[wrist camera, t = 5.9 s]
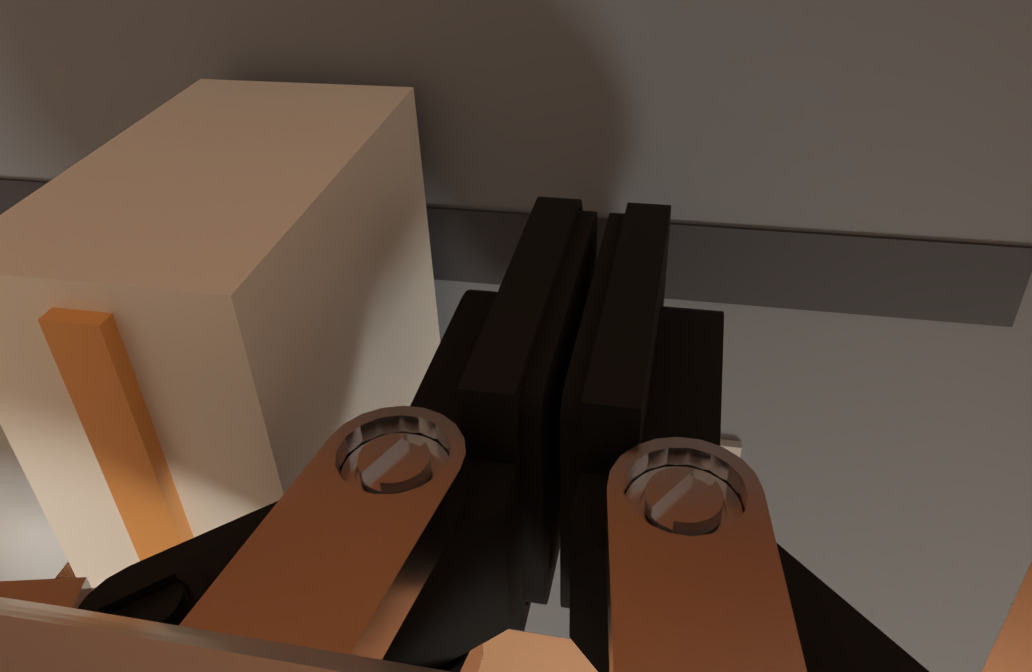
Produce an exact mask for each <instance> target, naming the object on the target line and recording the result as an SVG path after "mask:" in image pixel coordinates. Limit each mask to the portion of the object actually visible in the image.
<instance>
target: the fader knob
mask: <svg viewBox="0 0 1032 672" xmlns="http://www.w3.org/2000/svg"><path fill="white" fill-rule="evenodd" d="M439 344H440V333H439V324H438V314H437V305H436V295H435V286H434V276H433V267H432V258H431V248H430V239H429V229H428V220H427V210H426V201H425V191H424V182H423V172H422V163H421V153H420V144H419V134H418V125H417V115H416V106H415V96H414V87H396V86H371V85H345V84H319V83H294V82H268V81H243V80H217V79H200V80H198V81H197V82H195V83H194V84H192V85H191V86H189V87H188V88H186V89H185V90H183V91H182V92H180V93H179V94H178V95H176V96H175V97H173V98H172V99H170V100H169V101H167V102H166V103H164V104H163V105H161V106H160V107H158V108H157V109H155V110H154V111H152V112H151V113H150V114H148V115H147V116H145V117H144V118H142V119H141V120H139V121H138V122H136V123H135V124H133V125H132V126H130V127H129V128H127V129H126V130H125V131H123V132H122V133H120V134H119V135H117V136H116V137H114V138H113V139H111V140H110V141H108V142H107V143H105V144H104V145H102V146H101V147H99V148H98V149H97V150H95V151H94V152H92V153H91V154H89V155H88V156H86V157H85V158H83V159H82V160H80V161H79V162H77V163H76V164H74V165H73V166H71V167H70V168H69V169H67V170H66V171H64V172H63V173H61V174H60V175H58V176H57V177H55V178H54V179H52V180H51V181H49V182H48V183H46V184H45V185H44V186H42V187H41V188H39V189H38V190H36V191H35V192H33V193H32V194H30V195H29V196H27V197H26V198H24V199H23V200H21V201H20V202H18V203H17V204H16V205H14V206H13V207H11V208H10V209H8V210H7V211H5V212H4V213H2V214H1V215H0V425H1V427H2V429H3V431H4V433H5V435H6V437H7V439H8V441H9V443H10V445H11V447H12V449H13V451H14V453H15V455H16V457H17V459H18V461H19V463H20V465H21V467H22V469H23V471H24V473H25V475H26V477H27V479H28V481H29V483H30V485H31V487H32V489H33V491H34V493H35V495H36V497H37V499H38V501H39V503H40V505H41V507H42V509H43V512H44V514H45V516H46V518H47V520H48V522H49V524H50V526H51V528H52V530H53V532H54V534H55V536H56V538H57V540H58V542H59V544H60V546H61V548H62V550H63V552H64V554H65V556H66V558H67V560H68V562H69V564H70V566H71V568H72V570H73V572H74V574H75V576H76V578H78V577H87V579H88V581H89V583H90V585H91V587H92V588H96V587H97V586H98V585H100V584H101V583H102V582H103V581H104V580H105V579H107V578H109V577H110V576H112V575H114V574H116V573H118V572H119V571H121V570H123V569H125V568H126V567H128V566H130V565H132V564H135V563H137V562H139V561H142V560H144V559H146V558H148V557H151V556H153V555H155V554H157V553H160V552H162V551H164V550H167V549H169V548H171V547H173V546H176V545H178V544H180V543H183V542H185V541H187V540H189V539H192V538H194V537H196V536H199V535H201V534H203V533H205V532H208V531H210V530H212V529H215V528H217V527H219V526H221V525H224V524H226V523H228V522H230V521H233V520H235V519H237V518H240V517H242V516H244V515H246V514H249V513H251V512H253V511H256V510H258V509H260V508H262V507H265V506H267V505H269V504H272V503H274V502H276V501H278V500H280V498H281V497H282V496H283V495H284V493H285V492H286V491H287V490H288V488H289V487H290V486H291V485H292V483H293V482H294V481H295V480H296V478H297V477H298V476H299V475H300V473H301V472H302V471H303V470H304V468H305V467H306V466H307V465H308V463H309V462H310V461H311V460H312V458H313V457H314V456H315V455H316V453H317V452H318V451H319V450H320V448H321V447H322V446H323V445H324V443H325V442H326V441H327V440H328V438H329V437H330V436H331V435H332V434H333V433H334V432H335V431H337V430H338V429H339V428H340V427H341V426H342V425H343V424H344V423H346V422H348V421H350V420H352V419H354V418H355V417H357V416H359V415H361V414H363V413H367V412H370V411H373V410H377V409H380V408H385V407H395V406H410V405H411V403H412V401H413V399H414V396H415V394H416V392H417V390H418V388H419V386H420V384H421V382H422V380H423V378H424V375H425V373H426V371H427V369H428V367H429V365H430V363H431V361H432V359H433V357H434V354H435V352H436V350H437V348H438V346H439Z"/></svg>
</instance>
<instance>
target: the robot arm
mask: <svg viewBox="0 0 1032 672" xmlns="http://www.w3.org/2000/svg"><path fill="white" fill-rule="evenodd" d="M670 220H671V205H661V204H646V203H630V202H628V203H627V206H626V211H625V214H624V213H609V216H608V220H607V224H606V228H605V231H604V235H603V239H602V243H601V247H600V250H599V254H598V258H597V233H598V215H597V212H595V211H583V205H582V200H581V199H569V198H554V197H539V196H538V198H537V199H536V202H535V204H534V206H533V209H532V211H531V214H530V216H529V218H528V221H527V223H526V225H525V228H524V230H523V233H522V235H521V237H520V240H519V242H518V245H517V247H516V249H515V252H514V254H513V256H512V259H511V261H510V264H509V266H508V268H507V271H506V273H505V276H504V278H503V280H502V283H501V285H500V287H499V290H498V292H495V291H483V290H472V289H470V290H467V291H466V292H465V293H464V295H463V296H462V298H461V300H460V302H459V304H458V306H457V308H456V310H455V312H454V315H453V317H452V319H451V321H450V323H449V325H448V327H447V329H446V331H445V333H444V336H443V338H442V340H441V342H440V344H439V346H438V348H437V350H436V352H435V354H434V357H433V359H432V361H431V363H430V365H429V367H428V369H427V371H426V373H425V375H424V378H423V380H422V382H421V384H420V386H419V388H418V390H417V392H416V394H415V396H414V399H413V401H412V403H411V405H410V406H395V407H385V408H380V409H377V410H373V411H370V412H367V413H363V414H361V415H359V416H357V417H355V418H354V419H352V420H350V421H348V422H346V423H344V424H343V425H342V426H341V427H340V428H339V429H338V430H337V431H335V432H334V433H333V434H332V435H331V436H330V437H329V438H328V440H327V441H326V442H325V443H324V445H323V446H322V447H321V448H320V450H319V451H318V452H317V453H316V455H315V456H314V457H313V458H312V460H311V461H310V462H309V463H308V465H307V466H306V467H305V468H304V470H303V471H302V472H301V473H300V475H299V476H298V477H297V478H296V480H295V481H294V482H293V483H292V485H291V486H290V487H289V488H288V490H287V491H286V492H285V493H284V495H283V496H282V497H281V498H280V500H278V501H276V502H274V503H272V504H269V505H267V506H265V507H262V508H260V509H258V510H256V511H253V512H251V513H249V514H246V515H244V516H242V517H240V518H237V519H235V520H233V521H230V522H228V523H226V524H224V525H221V526H219V527H217V528H215V529H212V530H210V531H208V532H205V533H203V534H201V535H199V536H196V537H194V538H192V539H189V540H187V541H185V542H183V543H180V544H178V545H176V546H173V547H171V548H169V549H167V550H164V551H162V552H160V553H157V554H155V555H153V556H151V557H148V558H146V559H144V560H142V561H139V562H137V563H135V564H132V565H130V566H128V567H126V568H125V569H123V570H121V571H119V572H118V573H116V574H114V575H112V576H110V577H109V578H107V579H105V580H104V581H103V582H102V583H101V584H100V585H98V586H97V587H96V588H92V587H91V585H90V583H89V581H88V579H87V577H78V578H57V579H37V580H17V581H0V672H478V671H479V668H480V664H481V660H482V656H483V643H484V642H486V641H488V640H490V639H491V638H493V637H495V636H497V635H498V634H500V633H502V632H504V631H505V630H507V629H514V630H520V631H524V630H525V626H526V622H527V618H528V614H529V609H530V605H531V603H537V604H544V605H546V604H547V603H548V600H549V596H550V592H551V587H552V582H553V578H554V573H555V569H556V564H557V559H558V555H559V550H560V605H561V607H563V608H570V614H569V637H570V638H571V639H572V641H573V642H574V643H575V644H576V645H577V647H578V648H579V649H580V650H581V651H582V653H583V654H584V655H585V656H586V657H587V659H588V660H589V661H590V662H591V664H592V665H593V666H594V667H595V668H596V670H597V671H598V672H929V671H928V670H927V669H926V668H925V667H924V666H922V665H921V664H920V663H919V662H918V661H916V660H915V659H914V658H913V657H912V656H911V655H909V654H908V653H907V652H906V651H905V650H903V649H902V648H901V647H900V646H899V645H897V644H896V643H895V642H894V641H893V640H892V639H890V638H889V637H888V636H887V635H886V634H884V633H883V632H882V631H881V630H880V629H878V628H877V627H876V626H875V625H874V624H873V623H871V622H870V621H869V620H868V619H867V618H865V617H864V616H863V615H862V614H861V613H859V612H858V611H857V610H856V609H855V608H854V607H852V606H851V605H850V604H849V603H848V602H846V601H845V600H844V599H843V598H842V597H840V596H839V595H838V594H837V593H836V592H835V591H833V590H832V589H831V588H830V587H829V586H827V585H826V584H825V583H824V582H823V581H822V580H820V579H819V578H818V577H817V576H816V575H814V574H813V573H812V572H811V571H810V570H808V569H807V568H806V567H805V566H804V565H803V564H801V563H800V562H799V561H798V560H797V559H795V558H794V557H793V556H792V555H791V554H789V553H788V552H787V551H786V550H785V549H784V548H782V547H781V546H780V545H779V544H778V543H776V539H775V535H774V531H773V526H772V522H771V518H770V514H769V510H768V506H767V501H766V497H765V493H764V490H763V488H762V485H761V483H760V481H759V479H758V477H757V474H756V473H755V472H754V471H753V470H752V469H751V468H750V467H749V466H748V465H747V463H746V462H745V461H744V460H743V459H742V458H740V457H738V456H737V455H735V454H734V453H732V452H730V451H729V450H727V449H725V448H724V447H721V446H720V436H721V403H722V370H723V337H724V312H723V311H713V310H702V309H690V308H679V307H667V306H664V296H665V283H666V270H667V258H668V245H669V232H670Z"/></svg>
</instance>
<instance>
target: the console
mask: <svg viewBox="0 0 1032 672" xmlns="http://www.w3.org/2000/svg"><path fill="white" fill-rule="evenodd" d="M200 79H217V80H243V81H268V82H294V83H319V84H345V85H371V86H396V87H414V96H415V106H416V115H417V125H418V134H419V144H420V153H421V163H422V172H423V182H424V191H425V201H426V210H427V220H428V229H429V239H430V248H431V258H432V267H433V276H434V286H435V295H436V305H437V314H438V324H439V333H440V342H441V340H442V338H443V336H444V333H445V331H446V329H447V327H448V325H449V323H450V321H451V319H452V317H453V315H454V312H455V310H456V308H457V306H458V304H459V302H460V300H461V298H462V296H463V295H464V293H465V292H466V291H467V290H470V289H472V290H483V291H495V292H498V290H499V287H500V285H501V283H502V280H503V278H504V276H505V273H506V271H507V268H508V266H509V264H510V261H511V259H512V256H513V254H514V252H515V249H516V247H517V245H518V242H519V240H520V237H521V235H522V233H523V230H524V228H525V225H526V223H527V221H528V218H529V216H530V214H531V211H532V209H533V206H534V204H535V202H536V199H537V198H538V196H539V197H554V198H569V199H581V200H582V205H583V211H595V212H597V215H598V233H597V258H598V254H599V250H600V247H601V243H602V239H603V235H604V231H605V228H606V224H607V220H608V216H609V213H624V214H625V211H626V206H627V203H628V202H630V203H646V204H661V205H671V220H670V232H669V245H668V258H667V270H666V283H665V296H664V306H667V307H679V308H690V309H702V310H713V311H723V312H724V337H723V370H722V403H721V436H720V446H721V447H724V448H725V449H727V450H729V451H730V452H732V453H734V454H735V455H737V456H738V457H740V458H742V459H743V460H744V461H745V462H746V463H747V465H748V466H749V467H750V468H751V469H752V470H753V471H754V472H755V473H756V474H757V477H758V479H759V481H760V483H761V485H762V488H763V490H764V493H765V497H766V501H767V506H768V510H769V514H770V518H771V522H772V526H773V531H774V535H775V539H776V543H778V544H779V545H780V546H781V547H782V548H784V549H785V550H786V551H787V552H788V553H789V554H791V555H792V556H793V557H794V558H795V559H797V560H798V561H799V562H800V563H801V564H803V565H804V566H805V567H806V568H807V569H808V570H810V571H811V572H812V573H813V574H814V575H816V576H817V577H818V578H819V579H820V580H822V581H823V582H824V583H825V584H826V585H827V586H829V587H830V588H831V589H832V590H833V591H835V592H836V593H837V594H838V595H839V596H840V597H842V598H843V599H844V600H845V601H846V602H848V603H849V604H850V605H851V606H852V607H854V608H855V609H856V610H857V611H858V612H859V613H861V614H862V615H863V616H864V617H865V618H867V619H868V620H869V621H870V622H871V623H873V624H874V625H875V626H876V627H877V628H878V629H880V630H881V631H882V632H883V633H884V634H886V635H887V636H888V637H889V638H890V639H892V640H893V641H894V642H895V643H896V644H897V645H899V646H900V647H901V648H902V649H903V650H905V651H906V652H907V653H908V654H909V655H911V656H912V657H913V658H914V659H915V660H916V661H918V662H919V663H920V664H921V665H922V666H924V667H925V668H926V669H927V670H928V671H929V672H982V670H983V667H984V665H985V663H986V661H987V659H988V656H989V654H990V652H991V650H992V648H993V645H994V643H995V641H996V639H997V637H998V634H999V632H1000V630H1001V628H1002V626H1003V623H1004V621H1005V619H1006V617H1007V615H1008V612H1009V610H1010V608H1011V606H1012V604H1013V601H1014V599H1015V597H1016V595H1017V593H1018V591H1019V588H1020V586H1021V584H1022V582H1023V580H1024V577H1025V575H1026V573H1027V571H1028V569H1029V566H1030V564H1031V562H1032V0H0V215H1V214H2V213H4V212H5V211H7V210H8V209H10V208H11V207H13V206H14V205H16V204H17V203H18V202H20V201H21V200H23V199H24V198H26V197H27V196H29V195H30V194H32V193H33V192H35V191H36V190H38V189H39V188H41V187H42V186H44V185H45V184H46V183H48V182H49V181H51V180H52V179H54V178H55V177H57V176H58V175H60V174H61V173H63V172H64V171H66V170H67V169H69V168H70V167H71V166H73V165H74V164H76V163H77V162H79V161H80V160H82V159H83V158H85V157H86V156H88V155H89V154H91V153H92V152H94V151H95V150H97V149H98V148H99V147H101V146H102V145H104V144H105V143H107V142H108V141H110V140H111V139H113V138H114V137H116V136H117V135H119V134H120V133H122V132H123V131H125V130H126V129H127V128H129V127H130V126H132V125H133V124H135V123H136V122H138V121H139V120H141V119H142V118H144V117H145V116H147V115H148V114H150V113H151V112H152V111H154V110H155V109H157V108H158V107H160V106H161V105H163V104H164V103H166V102H167V101H169V100H170V99H172V98H173V97H175V96H176V95H178V94H179V93H180V92H182V91H183V90H185V89H186V88H188V87H189V86H191V85H192V84H194V83H195V82H197V81H198V80H200ZM67 562H68V560H67V558H66V556H65V554H64V552H63V550H62V548H61V546H60V544H59V542H58V540H57V538H56V536H55V534H54V532H53V530H52V528H51V526H50V524H49V522H48V520H47V518H46V516H45V514H44V512H43V509H42V507H41V505H40V503H39V501H38V499H37V497H36V495H35V493H34V491H33V489H32V487H31V485H30V483H29V481H28V479H27V477H26V475H25V473H24V471H23V469H22V467H21V465H20V463H19V461H18V459H17V457H16V455H15V453H14V451H13V449H12V447H11V445H10V443H9V441H8V439H7V437H6V435H5V433H4V431H3V429H2V427H1V425H0V581H17V580H37V579H55V577H56V576H57V575H58V574H59V572H60V571H61V570H62V569H63V567H64V566H65V565H66V564H67ZM569 614H570V608H563V607H561V605H560V550H559V555H558V559H557V564H556V569H555V573H554V578H553V582H552V587H551V592H550V596H549V600H548V603H547V604H546V605H544V604H537V603H531V605H530V609H529V614H528V618H527V622H526V626H525V630H524V631H523V632H530V633H536V634H542V635H549V636H555V637H561V638H567V639H571V638H570V637H569ZM511 630H514V629H511ZM517 631H520V630H517Z"/></svg>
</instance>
